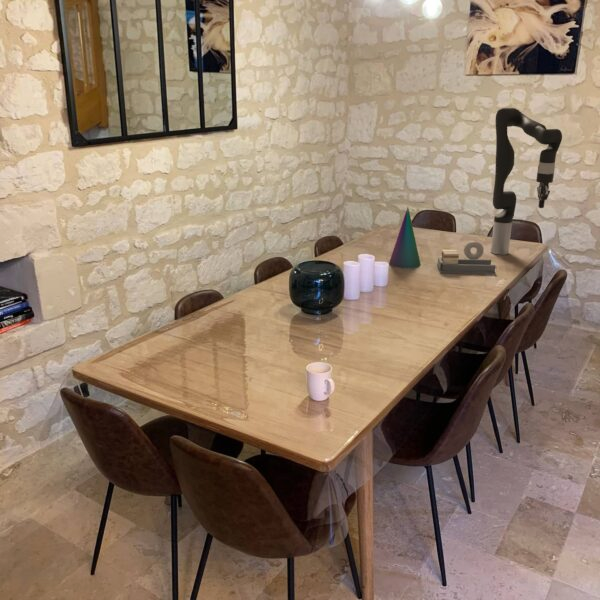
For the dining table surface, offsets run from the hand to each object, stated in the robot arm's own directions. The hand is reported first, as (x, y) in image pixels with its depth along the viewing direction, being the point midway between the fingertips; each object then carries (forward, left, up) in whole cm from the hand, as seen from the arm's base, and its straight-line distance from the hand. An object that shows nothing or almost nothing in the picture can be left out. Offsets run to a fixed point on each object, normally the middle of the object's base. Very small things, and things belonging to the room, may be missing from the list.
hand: (541, 207), depth 288 cm
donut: (-7, -29, -29) cm, 42 cm away
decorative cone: (+3, -65, -29) cm, 71 cm away
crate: (+12, -44, -28) cm, 53 cm away
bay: (+12, -36, -29) cm, 48 cm away
